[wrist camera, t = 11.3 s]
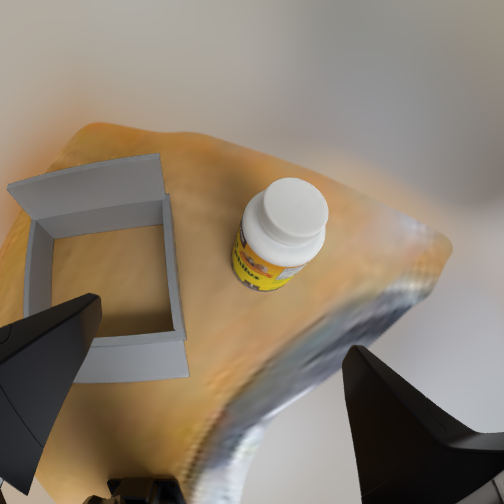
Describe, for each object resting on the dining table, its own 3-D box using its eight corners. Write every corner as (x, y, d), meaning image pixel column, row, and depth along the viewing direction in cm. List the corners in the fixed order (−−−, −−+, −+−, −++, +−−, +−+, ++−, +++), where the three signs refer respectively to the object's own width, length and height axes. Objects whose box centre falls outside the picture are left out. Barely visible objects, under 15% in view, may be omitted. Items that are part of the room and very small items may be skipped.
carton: (193, 375, 20) (187, 387, 12) (52, 382, 17) (-10, 383, 9) (172, 217, 25) (163, 151, 17) (50, 234, 22) (5, 184, 14)
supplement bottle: (220, 245, 25) (233, 175, 15) (275, 228, 26) (313, 159, 17) (244, 303, 23) (274, 263, 14) (300, 281, 25) (357, 233, 15)
